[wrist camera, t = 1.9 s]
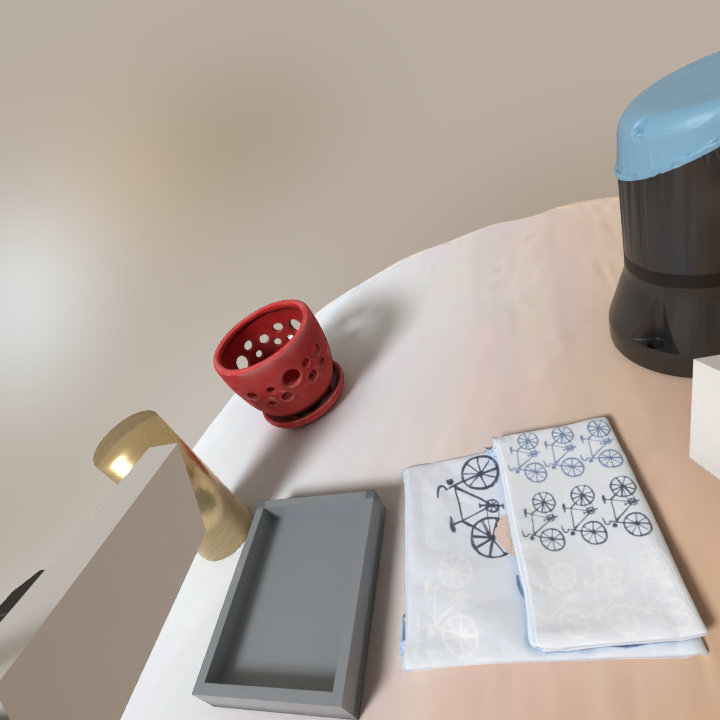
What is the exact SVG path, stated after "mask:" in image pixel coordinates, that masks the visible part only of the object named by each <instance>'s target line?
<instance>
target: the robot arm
mask: <svg viewBox="0 0 720 720" xmlns="http://www.w3.org/2000/svg"><path fill="white" fill-rule="evenodd" d="M615 175H616V176H617V178H618V184H619V198H620V210H621V223H622V236H623V249H624V268H623V271H622V274H621V277H620V280H619V283H618V285H617V288H616V291H615V294H614V297H613V300H612V303H611V306H610V311H609V323H610V332H611V337H612V340H613V342H614V344H615V346H616V347H617V348H618V350H619V351H620V352H621V353H622V354H623V355H624V356H626V357H627V358H628V359H630V360H631V361H633V362H635V363H636V364H638V365H640V366H642V367H645V368H647V369H650V370H653V371H656V372H659V373H663V374H668V375H673V376H679V377H689V378H693V383H692V406H691V429H690V452H689V457H690V458H691V459H693V460H694V461H695V462H697V463H698V464H699V465H700V466H702V467H703V468H704V469H706V470H707V471H708V472H710V473H711V474H712V475H714V476H715V477H716V478H718V479H719V480H720V52H717V53H714V54H712V55H709V56H707V57H704V58H702V59H700V60H697V61H695V62H693V63H691V64H689V65H686V66H685V67H682V68H680V69H679V70H677V71H675V72H673V73H671V74H669V75H667V76H666V77H664V78H662V79H661V80H659V81H658V82H656V83H654V84H653V85H651V86H650V87H649V88H647V89H646V90H644V91H643V92H642V93H641V94H640V95H638V96H637V97H636V98H635V99H634V100H633V101H632V102H631V103H630V104H629V106H628V107H627V108H626V109H625V111H624V112H623V114H622V116H621V118H620V120H619V123H618V127H617V162H616V165H615ZM205 533H206V528H205V525H204V522H203V519H202V516H201V513H200V509H199V506H198V503H197V500H196V497H195V494H194V491H193V488H192V485H191V482H190V479H189V476H188V472H187V469H186V466H185V463H184V460H183V457H182V454H181V451H180V448H179V445H178V443H174V444H168V445H162V446H156V447H149V449H148V450H147V451H146V452H145V453H144V454H143V456H142V457H141V458H140V459H139V460H138V461H137V463H136V464H135V465H134V466H133V467H132V468H131V470H130V471H129V472H128V473H127V474H126V476H125V477H124V478H123V479H122V480H121V481H120V483H119V484H118V485H117V486H116V487H115V488H114V490H113V491H112V492H111V493H110V494H109V495H108V497H107V498H106V499H105V500H104V501H103V503H102V504H101V505H100V506H99V507H98V508H97V510H96V511H95V512H94V513H93V514H92V515H91V517H90V518H89V519H88V520H87V521H86V522H85V524H84V525H83V526H82V527H81V528H80V529H79V531H78V532H77V533H76V534H75V535H74V537H73V538H72V539H71V540H70V541H69V542H68V544H67V545H66V546H65V547H64V548H63V550H62V551H61V552H60V553H59V554H58V555H57V557H56V558H55V559H54V560H53V561H52V562H51V564H50V565H49V566H48V567H47V568H46V569H45V570H40V571H39V572H37V573H36V574H35V575H34V576H32V577H31V578H30V579H28V580H27V581H26V582H25V583H24V584H22V585H21V586H19V587H18V588H17V589H15V590H14V591H13V592H12V593H11V594H10V595H9V596H8V597H7V599H6V600H5V601H4V602H3V603H2V604H1V605H0V720H120V719H121V717H122V714H123V712H124V710H125V708H126V706H127V703H128V701H129V699H130V697H131V695H132V693H133V690H134V688H135V686H136V684H137V682H138V679H139V677H140V675H141V673H142V671H143V669H144V666H145V664H146V662H147V660H148V658H149V655H150V653H151V651H152V649H153V647H154V645H155V642H156V640H157V638H158V636H159V634H160V631H161V629H162V627H163V625H164V623H165V621H166V618H167V616H168V614H169V612H170V610H171V607H172V605H173V603H174V601H175V599H176V597H177V594H178V592H179V590H180V588H181V586H182V584H183V581H184V579H185V577H186V575H187V573H188V570H189V568H190V566H191V564H192V562H193V560H194V557H195V555H196V553H197V551H198V549H199V546H200V544H201V542H202V540H203V538H204V536H205Z"/></svg>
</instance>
